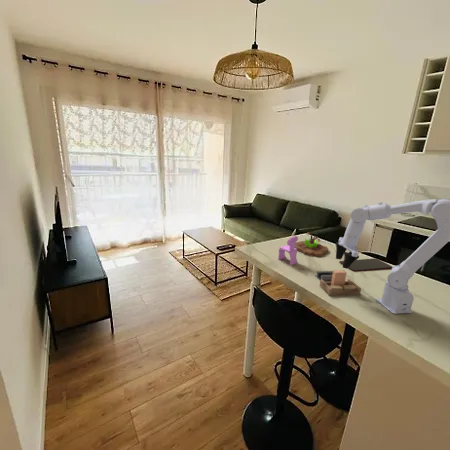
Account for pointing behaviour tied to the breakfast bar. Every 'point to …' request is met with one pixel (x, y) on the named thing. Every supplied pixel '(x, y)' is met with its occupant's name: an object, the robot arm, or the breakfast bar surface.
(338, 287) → the offcut
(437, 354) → the breakfast bar surface
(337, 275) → the salmon pink block
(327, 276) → the stand
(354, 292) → the brown shallow tray
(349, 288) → the offcut
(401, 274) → the robot arm
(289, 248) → the toy chair
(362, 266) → the dark rectangular slab
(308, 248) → the plant
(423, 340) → the breakfast bar surface
